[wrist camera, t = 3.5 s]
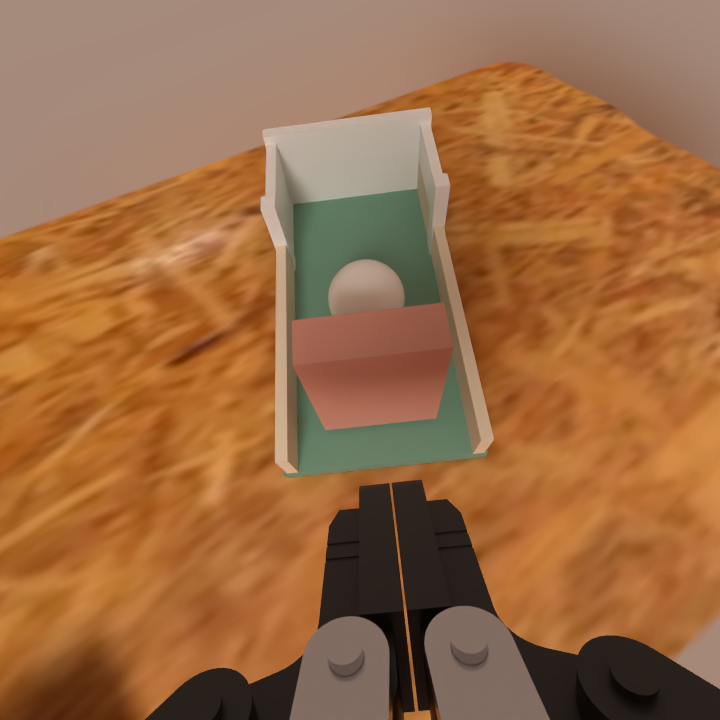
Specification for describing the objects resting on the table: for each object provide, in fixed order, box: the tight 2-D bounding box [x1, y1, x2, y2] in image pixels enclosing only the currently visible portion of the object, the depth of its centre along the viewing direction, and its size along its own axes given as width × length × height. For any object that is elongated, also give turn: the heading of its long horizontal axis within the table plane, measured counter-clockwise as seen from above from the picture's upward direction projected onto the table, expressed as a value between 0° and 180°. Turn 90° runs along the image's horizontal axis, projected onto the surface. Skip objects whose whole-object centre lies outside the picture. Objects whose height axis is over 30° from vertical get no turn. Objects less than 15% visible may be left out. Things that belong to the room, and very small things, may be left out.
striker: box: [292, 303, 454, 430], centre depth 20 cm, size 2×6×8 cm, turn 95°
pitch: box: [275, 162, 494, 478], centre depth 26 cm, size 20×11×4 cm, turn 5°
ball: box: [328, 259, 405, 316], centre depth 24 cm, size 4×4×4 cm
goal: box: [261, 107, 450, 271], centre depth 28 cm, size 7×11×6 cm, turn 95°
